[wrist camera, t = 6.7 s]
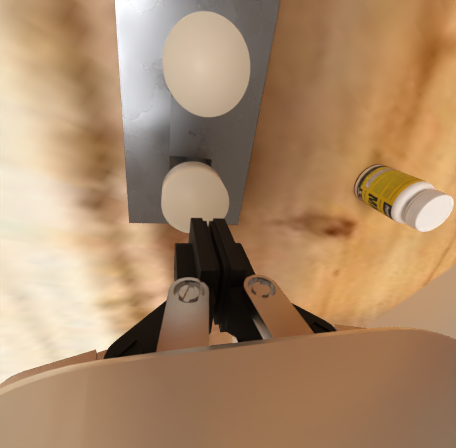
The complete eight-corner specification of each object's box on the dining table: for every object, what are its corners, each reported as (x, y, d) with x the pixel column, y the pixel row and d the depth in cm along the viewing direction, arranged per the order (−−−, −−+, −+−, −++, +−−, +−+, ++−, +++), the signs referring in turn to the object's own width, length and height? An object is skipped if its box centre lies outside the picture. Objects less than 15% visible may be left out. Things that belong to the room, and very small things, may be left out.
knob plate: (114, -202, 13) (95, -305, 9) (283, -128, 15) (315, -188, 12) (134, 203, 24) (129, 222, 21) (229, 207, 27) (237, 224, 23)
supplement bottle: (346, 187, 29) (403, 220, 22) (376, 155, 28) (448, 180, 20) (365, 206, 31) (423, 242, 24) (394, 178, 30) (465, 207, 23)
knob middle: (164, 26, 15) (163, -1, 10) (231, 41, 16) (258, 23, 11) (163, 103, 17) (162, 111, 12) (223, 112, 18) (242, 122, 13)
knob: (163, 147, 18) (161, 169, 14) (218, 153, 20) (233, 174, 15) (162, 199, 21) (161, 233, 16) (212, 201, 22) (224, 233, 17)
